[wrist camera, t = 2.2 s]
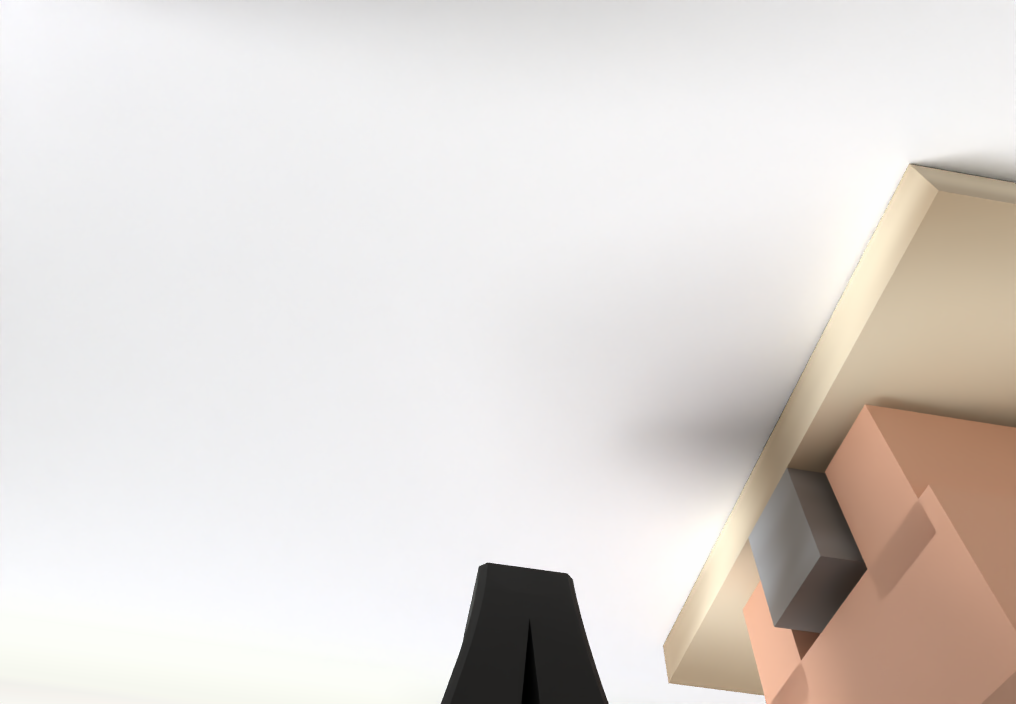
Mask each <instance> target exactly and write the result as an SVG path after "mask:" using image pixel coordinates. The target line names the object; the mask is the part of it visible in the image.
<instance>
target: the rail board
mask: <svg viewBox="0 0 1016 704" xmlns="http://www.w3.org/2000/svg"><path fill="white" fill-rule="evenodd" d="M865 404H867V405H873V406H880V407H886V408H892V409H899V410H905V411H912V412H918V413H924V414H931V415H937V416H944V417H950V418H957V419H963V420H969V421H976V422H982V423H989V424H995V425H1001V426H1008V427H1014V428H1016V183H1013V182H1008V181H1002V180H996V179H991V178H985V177H980V176H974V175H968V174H963V173H957V172H952V171H946V170H940V169H935V168H929V167H923V166H918V165H912V164H909V165H908V167H907V169H906V171H905V173H904V175H903V177H902V179H901V181H900V183H899V185H898V187H897V189H896V191H895V193H894V195H893V197H892V199H891V201H890V202H889V204H888V206H887V208H886V210H885V212H884V214H883V216H882V218H881V220H880V222H879V224H878V226H877V228H876V230H875V232H874V234H873V236H872V238H871V240H870V242H869V244H868V246H867V248H866V249H865V251H864V253H863V255H862V257H861V259H860V261H859V263H858V265H857V267H856V269H855V271H854V273H853V275H852V277H851V279H850V281H849V283H848V285H847V287H846V289H845V291H844V293H843V295H842V296H841V298H840V300H839V302H838V304H837V306H836V308H835V310H834V312H833V314H832V316H831V318H830V320H829V322H828V324H827V326H826V328H825V330H824V332H823V334H822V336H821V338H820V340H819V342H818V343H817V345H816V347H815V349H814V351H813V353H812V355H811V357H810V359H809V361H808V363H807V365H806V367H805V369H804V371H803V373H802V375H801V377H800V379H799V381H798V383H797V385H796V387H795V389H794V390H793V392H792V394H791V396H790V398H789V400H788V402H787V404H786V406H785V408H784V410H783V412H782V414H781V416H780V418H779V420H778V422H777V424H776V426H775V428H774V430H773V432H772V434H771V436H770V437H769V439H768V441H767V443H766V445H765V447H764V449H763V451H762V453H761V455H760V457H759V459H758V461H757V463H756V465H755V467H754V469H753V471H752V473H751V475H750V477H749V479H748V481H747V483H746V484H745V486H744V488H743V490H742V492H741V494H740V496H739V498H738V500H737V502H736V504H735V506H734V508H733V510H732V512H731V514H730V516H729V518H728V520H727V522H726V524H725V526H724V528H723V530H722V531H721V533H720V535H719V537H718V539H717V541H716V543H715V545H714V547H713V549H712V551H711V553H710V555H709V557H708V559H707V561H706V563H705V565H704V567H703V569H702V571H701V573H700V575H699V577H698V578H697V580H696V582H695V584H694V586H693V588H692V590H691V592H690V594H689V596H688V598H687V600H686V602H685V604H684V606H683V608H682V610H681V612H680V614H679V616H678V618H677V620H676V622H675V624H674V625H673V627H672V629H671V631H670V633H669V635H668V637H667V639H666V641H665V643H664V645H663V648H664V655H665V662H666V669H667V675H668V682H669V683H672V684H680V685H687V686H695V687H703V688H711V689H718V690H726V691H734V692H742V693H749V694H757V695H764V692H763V688H762V684H761V680H760V676H759V672H758V668H757V664H756V661H755V657H754V653H753V649H752V645H751V641H750V637H749V633H748V629H747V625H746V621H745V618H744V614H743V608H744V607H745V605H746V603H747V602H748V600H749V598H750V597H751V595H752V593H753V592H754V590H755V588H756V587H757V585H758V583H759V581H760V580H761V583H762V587H763V590H764V594H765V597H766V601H767V604H768V607H769V611H770V614H771V618H772V621H773V625H774V627H778V628H785V629H793V630H800V631H808V632H815V633H822V631H823V630H824V628H825V627H826V626H827V624H828V623H829V621H830V620H831V619H832V617H833V616H834V615H835V613H836V612H837V610H838V609H839V608H840V606H841V605H842V604H843V602H844V601H845V599H846V598H847V597H848V595H849V594H850V593H851V591H852V590H853V588H854V587H855V586H856V584H857V583H858V582H859V580H860V579H861V577H862V576H863V575H864V573H865V572H866V570H867V567H866V564H865V562H864V560H863V558H862V555H861V553H860V551H859V548H858V546H857V544H856V542H855V539H854V537H853V535H852V533H851V530H850V528H849V526H848V523H847V521H846V519H845V517H844V514H843V512H842V510H841V508H840V505H839V503H838V501H837V498H836V496H835V494H834V492H833V489H832V487H831V485H830V483H829V480H828V478H827V476H826V473H825V471H826V469H827V467H828V465H829V464H830V462H831V460H832V459H833V457H834V455H835V454H836V452H837V450H838V449H839V447H840V445H841V444H842V442H843V440H844V439H845V437H846V435H847V434H848V432H849V430H850V428H851V427H852V425H853V423H854V422H855V420H856V418H857V417H858V415H859V413H860V412H861V410H862V408H863V407H864V405H865Z"/></svg>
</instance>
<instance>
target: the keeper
mask: <svg viewBox="0 0 1016 704" xmlns="http://www.w3.org/2000/svg"><path fill="white" fill-rule="evenodd" d="M825 473H826V476H827V478H828V480H829V483H830V485H831V487H832V489H833V492H834V494H835V496H836V498H837V501H838V503H839V505H840V508H841V510H842V512H843V514H844V517H845V519H846V521H847V523H848V526H849V528H850V530H851V533H852V535H853V537H854V539H855V542H856V544H857V546H858V548H859V551H860V553H861V555H862V558H863V560H864V562H865V564H866V567H867V570H866V572H865V573H864V575H863V576H862V577H861V579H860V580H859V582H858V583H857V584H856V586H855V587H854V588H853V590H852V591H851V593H850V594H849V595H848V597H847V598H846V599H845V601H844V602H843V604H842V605H841V606H840V608H839V609H838V610H837V612H836V613H835V615H834V616H833V617H832V619H831V620H830V621H829V623H828V624H827V626H826V627H825V628H824V630H823V631H822V633H815V632H808V631H800V630H793V629H785V628H778V627H774V625H773V621H772V618H771V614H770V611H769V607H768V604H767V601H766V597H765V594H764V590H763V587H762V583H761V580H760V581H759V583H758V585H757V587H756V588H755V590H754V592H753V593H752V595H751V597H750V598H749V600H748V602H747V603H746V605H745V607H744V608H743V614H744V618H745V621H746V625H747V629H748V633H749V637H750V641H751V645H752V649H753V653H754V657H755V661H756V664H757V668H758V672H759V676H760V680H761V684H762V688H763V692H764V696H765V700H766V704H1016V428H1014V427H1008V426H1001V425H995V424H989V423H982V422H976V421H969V420H963V419H957V418H950V417H944V416H937V415H931V414H924V413H918V412H912V411H905V410H899V409H892V408H886V407H880V406H873V405H867V404H865V405H864V407H863V408H862V410H861V412H860V413H859V415H858V417H857V418H856V420H855V422H854V423H853V425H852V427H851V428H850V430H849V432H848V434H847V435H846V437H845V439H844V440H843V442H842V444H841V445H840V447H839V449H838V450H837V452H836V454H835V455H834V457H833V459H832V460H831V462H830V464H829V465H828V467H827V469H826V471H825Z"/></svg>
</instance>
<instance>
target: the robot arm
mask: <svg viewBox="0 0 1016 704" xmlns="http://www.w3.org/2000/svg"><path fill="white" fill-rule="evenodd" d="M441 704H609V703H608V701H607V698H606V695H605V692H604V690H603V687H602V684H601V681H600V678H599V675H598V672H597V669H596V665H595V662H594V659H593V656H592V652H591V649H590V646H589V643H588V639H587V636H586V632H585V629H584V625H583V622H582V618H581V614H580V610H579V606H578V602H577V598H576V593H575V589H574V584H573V579H572V578H571V577H570V576H569V575H568V574H567V573H560V572H552V571H545V570H538V569H530V568H523V567H516V566H508V565H501V564H494V563H486V564H483V565H481V566H479V569H478V573H477V578H476V583H475V587H474V592H473V596H472V601H471V606H470V610H469V615H468V619H467V624H466V629H465V633H464V639H463V643H462V647H461V650H460V653H459V656H458V658H457V661H456V664H455V667H454V669H453V672H452V675H451V678H450V680H449V683H448V686H447V689H446V691H445V694H444V697H443V700H442V702H441Z"/></svg>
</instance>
